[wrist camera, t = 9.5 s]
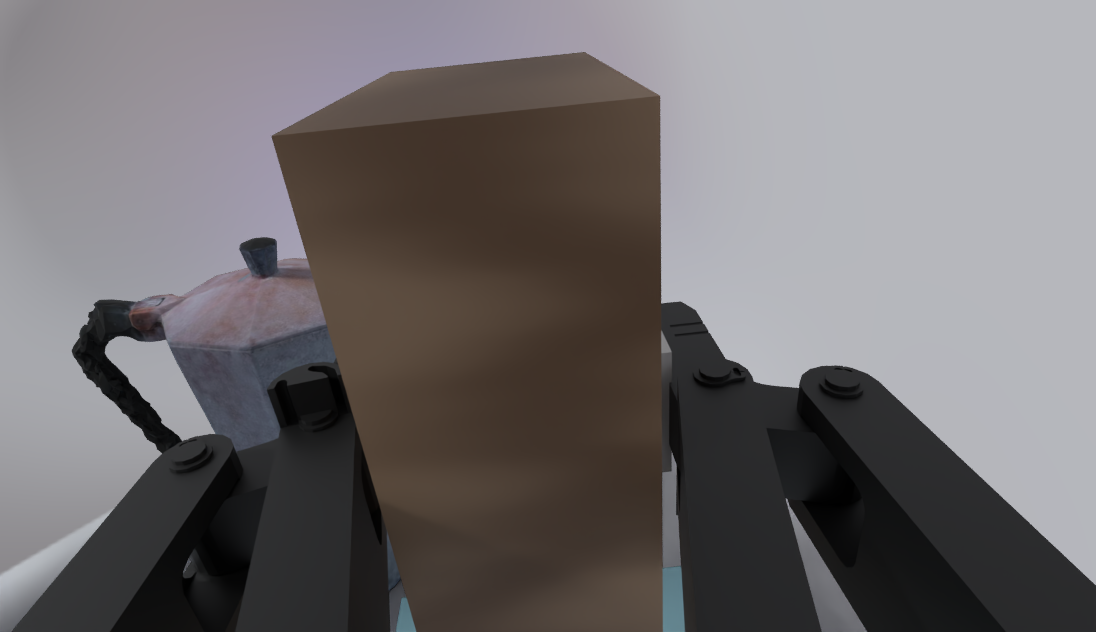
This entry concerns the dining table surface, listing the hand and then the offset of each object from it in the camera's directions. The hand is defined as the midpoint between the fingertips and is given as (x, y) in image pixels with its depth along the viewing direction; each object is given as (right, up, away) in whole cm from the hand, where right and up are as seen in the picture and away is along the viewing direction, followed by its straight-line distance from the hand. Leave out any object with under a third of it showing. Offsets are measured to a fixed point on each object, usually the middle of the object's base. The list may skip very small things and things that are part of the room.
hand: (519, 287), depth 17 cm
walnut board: (+1, -10, -1) cm, 11 cm away
